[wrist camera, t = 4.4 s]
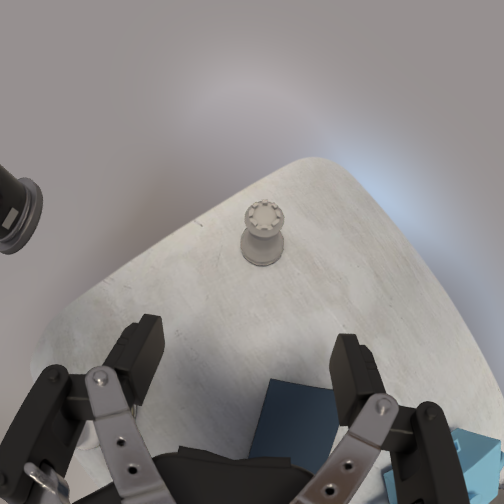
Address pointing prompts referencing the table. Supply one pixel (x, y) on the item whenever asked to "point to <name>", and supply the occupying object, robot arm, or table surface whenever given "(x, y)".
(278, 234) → the rook chess piece
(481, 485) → the teapot
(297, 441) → the rectangular board
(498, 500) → the mug
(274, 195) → the table surface
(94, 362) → the table surface
